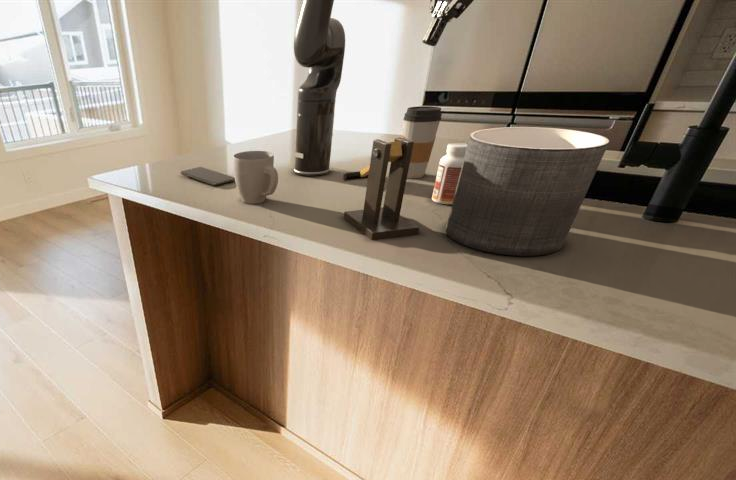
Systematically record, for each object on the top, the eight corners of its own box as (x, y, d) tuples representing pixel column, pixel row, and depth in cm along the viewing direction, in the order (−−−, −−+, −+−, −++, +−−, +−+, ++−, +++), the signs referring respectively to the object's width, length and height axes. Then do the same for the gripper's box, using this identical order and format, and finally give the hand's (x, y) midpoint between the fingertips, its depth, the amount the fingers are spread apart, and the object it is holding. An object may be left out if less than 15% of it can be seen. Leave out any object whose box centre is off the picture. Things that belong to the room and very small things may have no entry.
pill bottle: (469, 201, 89) (485, 144, 83) (451, 207, 86) (467, 149, 80) (442, 194, 93) (455, 140, 87) (424, 200, 91) (437, 144, 84)
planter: (423, 226, 78) (445, 133, 69) (502, 213, 82) (532, 123, 73) (499, 264, 64) (539, 154, 55) (590, 247, 68) (642, 140, 59)
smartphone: (213, 183, 106) (179, 171, 117) (213, 187, 107) (179, 175, 117) (236, 177, 110) (201, 166, 120) (236, 181, 111) (201, 170, 121)
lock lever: (343, 184, 84) (342, 172, 84) (376, 181, 85) (375, 168, 85) (377, 157, 71) (375, 143, 71) (415, 154, 72) (414, 139, 72)
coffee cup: (433, 178, 104) (450, 109, 95) (399, 180, 104) (412, 111, 95) (421, 170, 110) (435, 105, 102) (389, 171, 111) (400, 107, 102)
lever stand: (343, 218, 84) (352, 137, 76) (385, 213, 85) (399, 132, 77) (371, 239, 75) (385, 149, 66) (418, 234, 76) (438, 144, 67)
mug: (226, 199, 98) (224, 155, 92) (256, 192, 102) (256, 148, 96) (260, 212, 90) (260, 164, 84) (290, 203, 94) (292, 156, 88)
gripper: (449, -88, 71) (395, 34, 81) (499, -101, 61) (430, 40, 71) (483, -69, 73) (426, 48, 83) (537, -78, 63) (465, 55, 73)
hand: (428, 44), depth 77 cm, fingers closed
